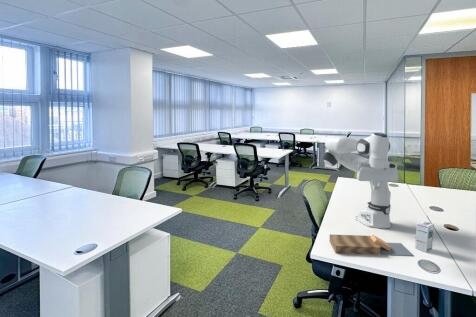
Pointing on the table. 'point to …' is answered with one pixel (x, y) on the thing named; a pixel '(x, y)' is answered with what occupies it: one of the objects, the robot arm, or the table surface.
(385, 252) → the mat
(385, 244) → the block
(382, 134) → the robot arm
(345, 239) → the deck
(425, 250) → the syrup box
